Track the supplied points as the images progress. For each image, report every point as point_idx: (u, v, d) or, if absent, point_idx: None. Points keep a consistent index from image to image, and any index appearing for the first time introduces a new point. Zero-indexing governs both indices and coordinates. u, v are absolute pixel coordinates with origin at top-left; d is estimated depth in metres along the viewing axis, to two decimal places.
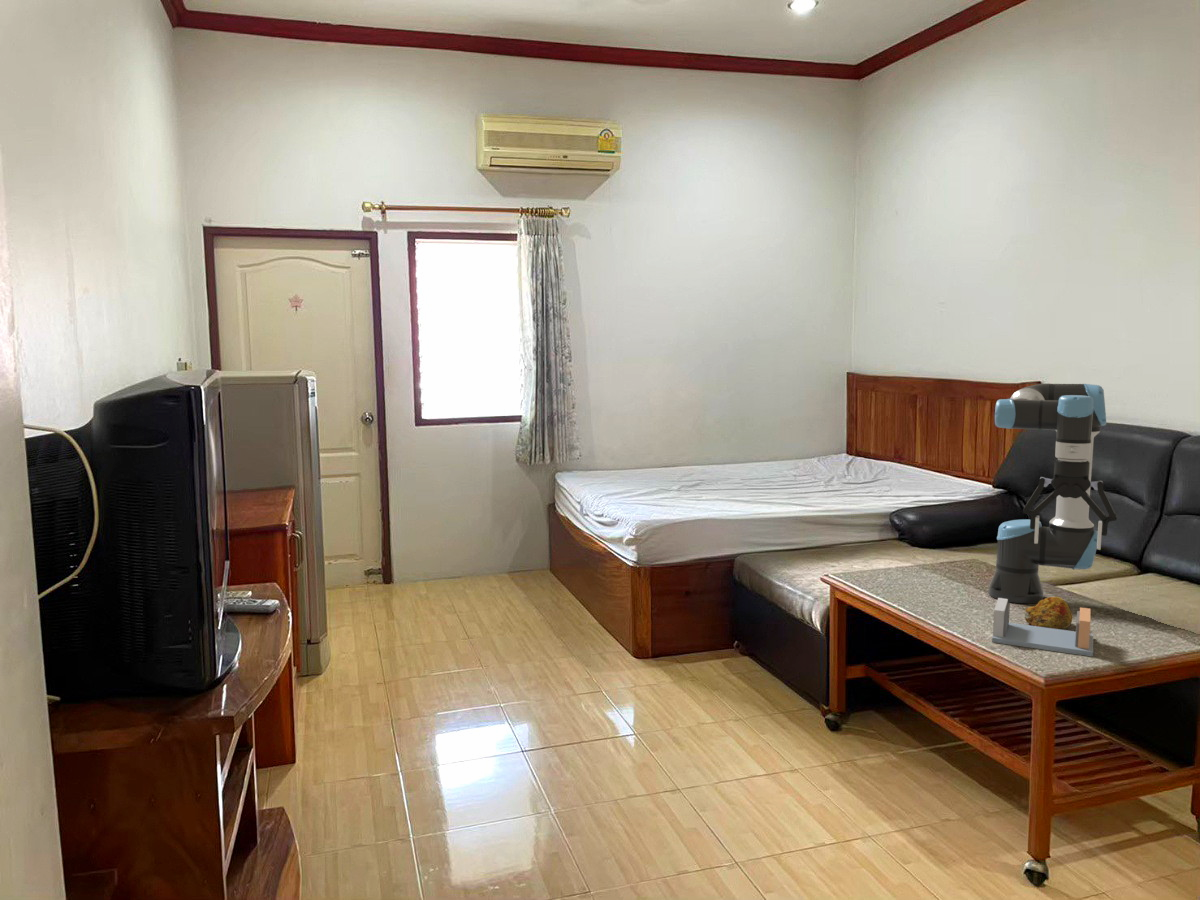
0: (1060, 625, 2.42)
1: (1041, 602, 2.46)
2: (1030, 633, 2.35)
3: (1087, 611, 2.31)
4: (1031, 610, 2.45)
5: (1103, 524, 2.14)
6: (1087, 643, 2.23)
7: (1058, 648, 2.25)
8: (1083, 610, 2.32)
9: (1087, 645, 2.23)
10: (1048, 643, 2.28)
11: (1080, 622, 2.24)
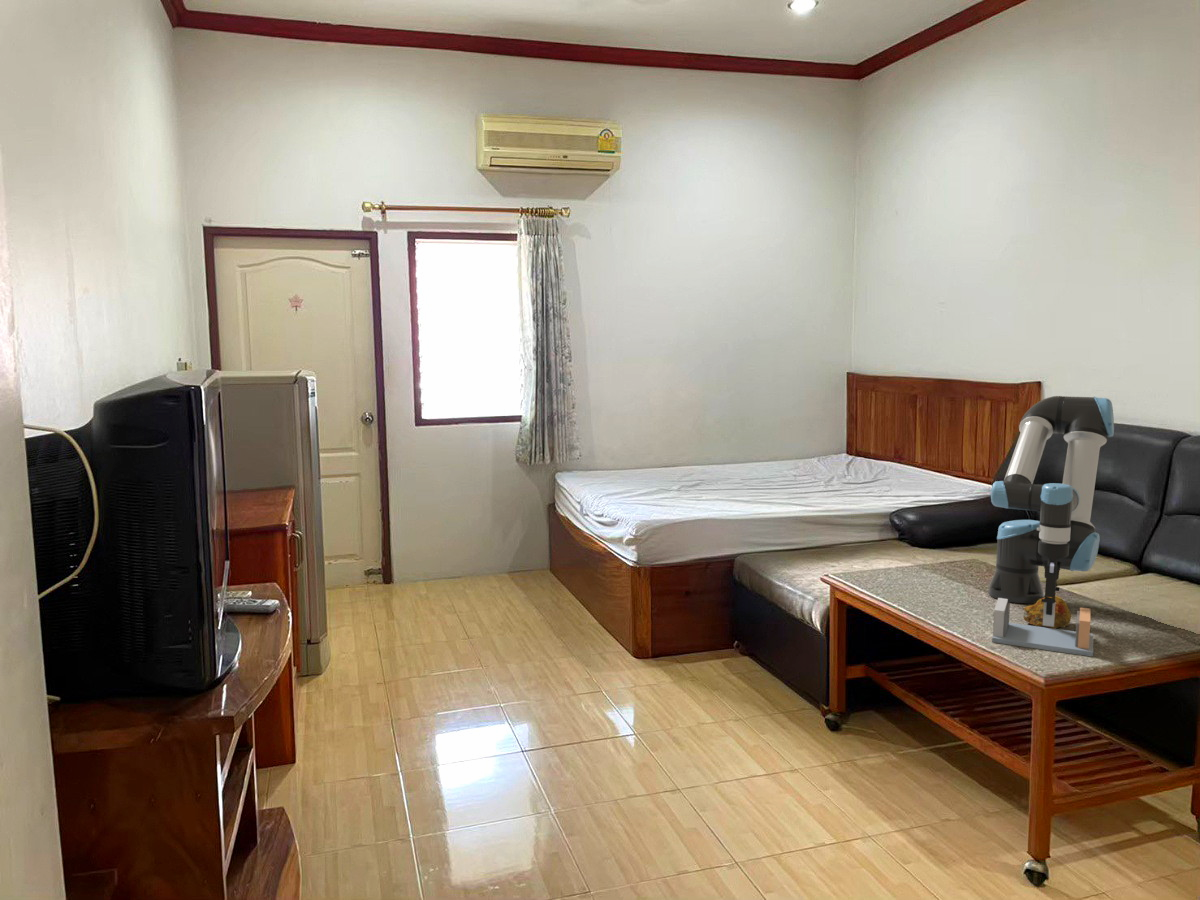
0: (1058, 624, 2.42)
1: (1040, 601, 2.46)
2: (1030, 633, 2.35)
3: (1087, 611, 2.31)
4: (1029, 608, 2.45)
5: (1046, 604, 2.39)
6: (1087, 643, 2.23)
7: (1058, 648, 2.25)
8: (1083, 610, 2.32)
9: (1087, 645, 2.23)
10: (1048, 643, 2.28)
11: (1080, 622, 2.24)
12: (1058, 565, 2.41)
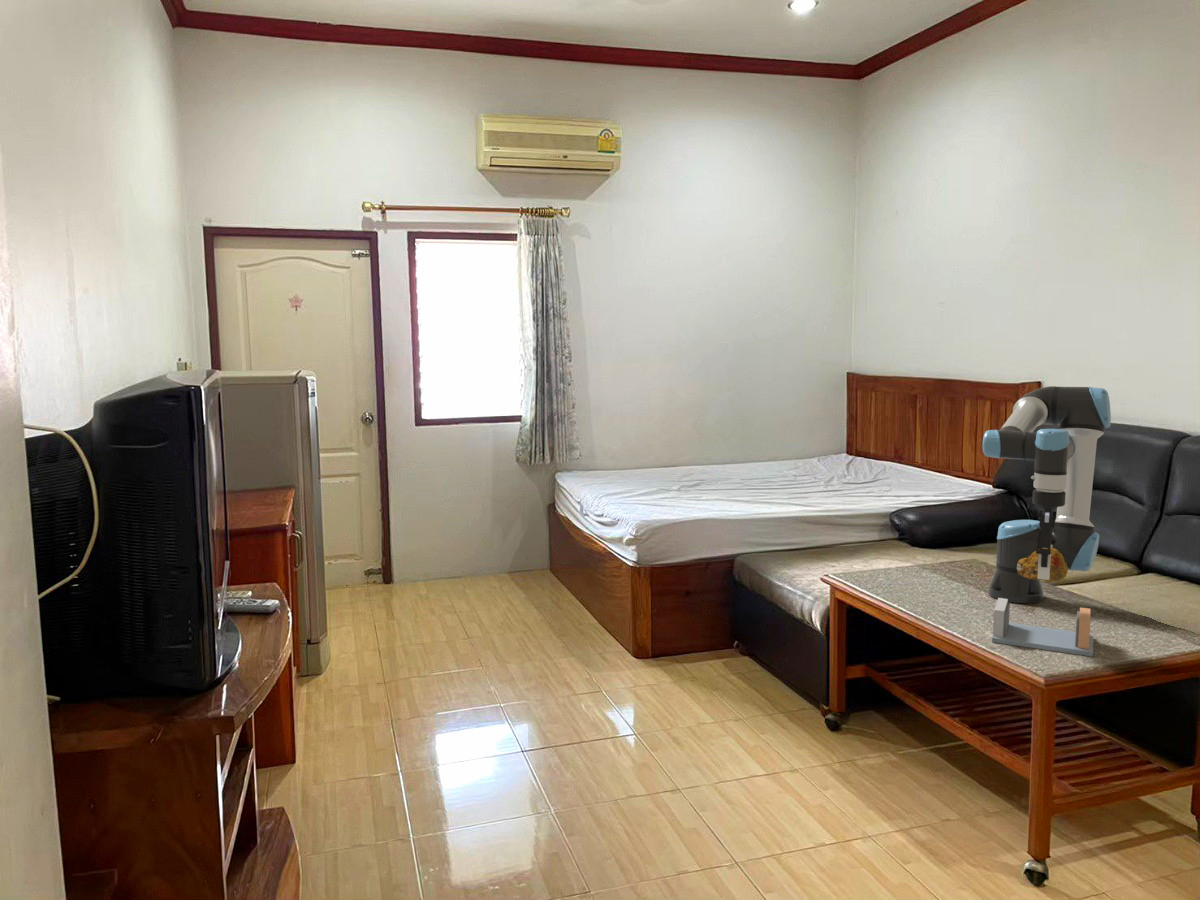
0: (1054, 577, 2.29)
1: (1034, 553, 2.33)
2: (1030, 633, 2.35)
3: (1087, 611, 2.31)
4: (1023, 561, 2.32)
5: (1041, 555, 2.26)
6: (1087, 643, 2.23)
7: (1058, 648, 2.25)
8: (1083, 610, 2.32)
9: (1087, 645, 2.23)
10: (1048, 643, 2.28)
11: (1080, 622, 2.24)
12: (1054, 515, 2.27)
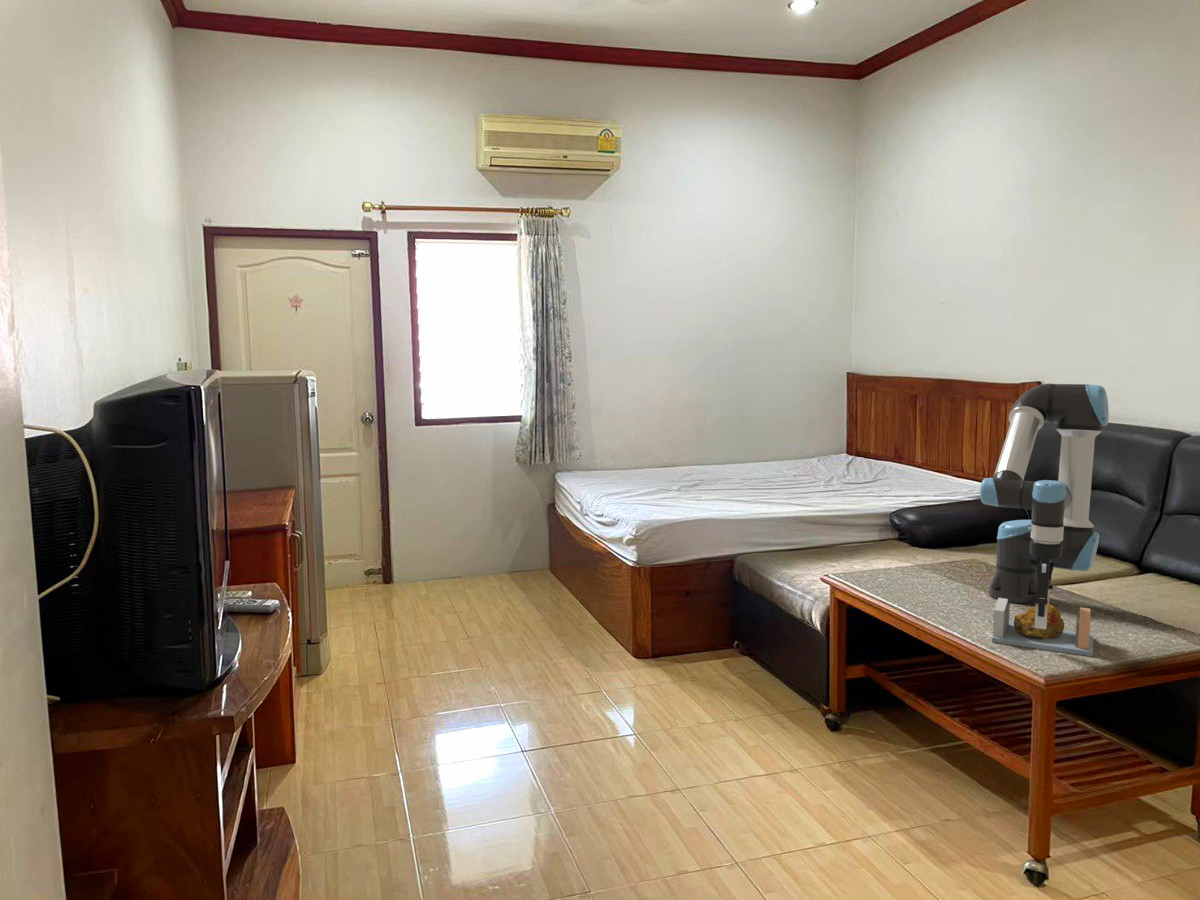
0: (1050, 634, 2.31)
1: (1031, 609, 2.35)
2: None
3: (1087, 611, 2.31)
4: (1020, 617, 2.34)
5: (1038, 605, 2.26)
6: (1087, 643, 2.23)
7: (1058, 648, 2.25)
8: (1083, 610, 2.32)
9: (1087, 645, 2.23)
10: (1048, 643, 2.28)
11: (1080, 622, 2.24)
12: (1051, 566, 2.29)
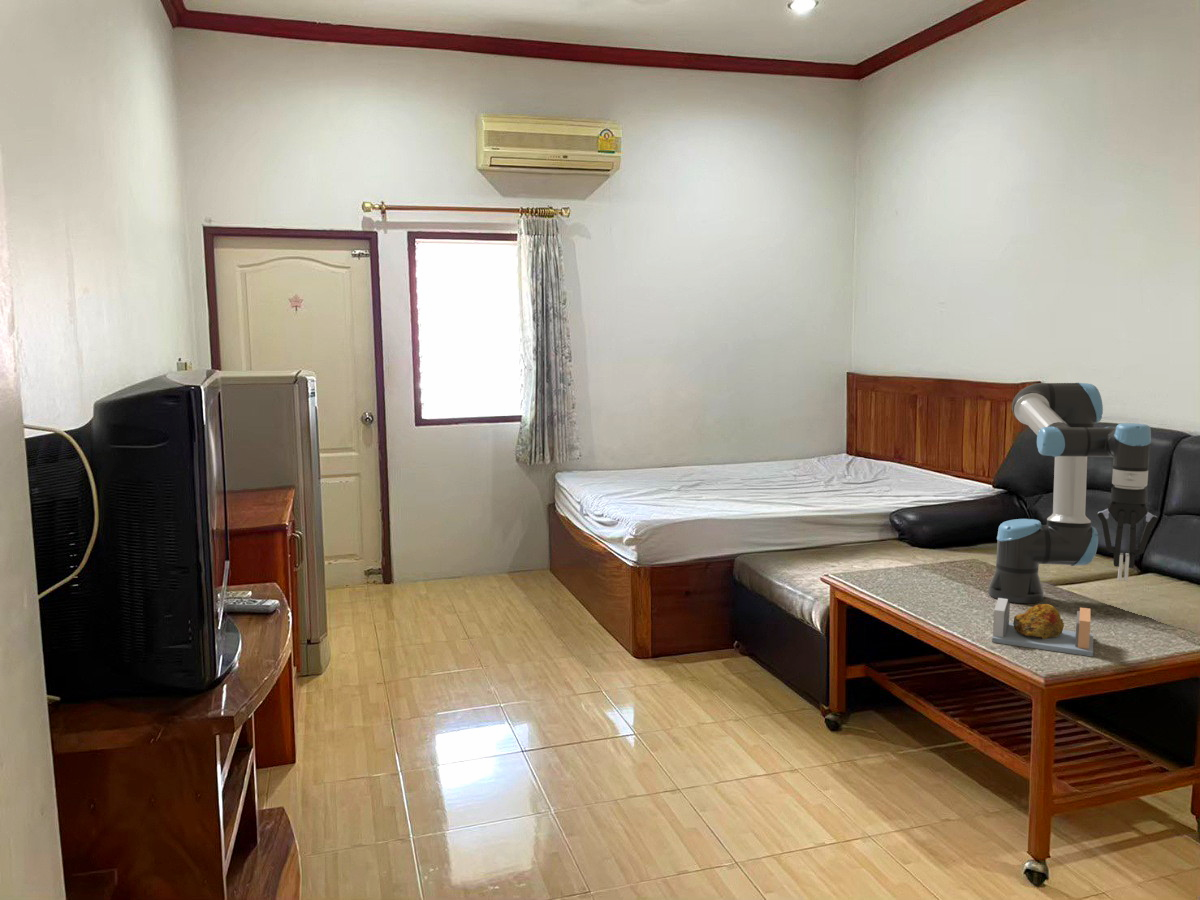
0: (1050, 634, 2.31)
1: (1031, 609, 2.35)
2: None
3: (1087, 611, 2.31)
4: (1020, 617, 2.34)
5: (1130, 557, 2.21)
6: (1087, 643, 2.23)
7: (1058, 648, 2.25)
8: (1083, 610, 2.32)
9: (1087, 645, 2.23)
10: (1048, 643, 2.28)
11: (1080, 622, 2.24)
12: None
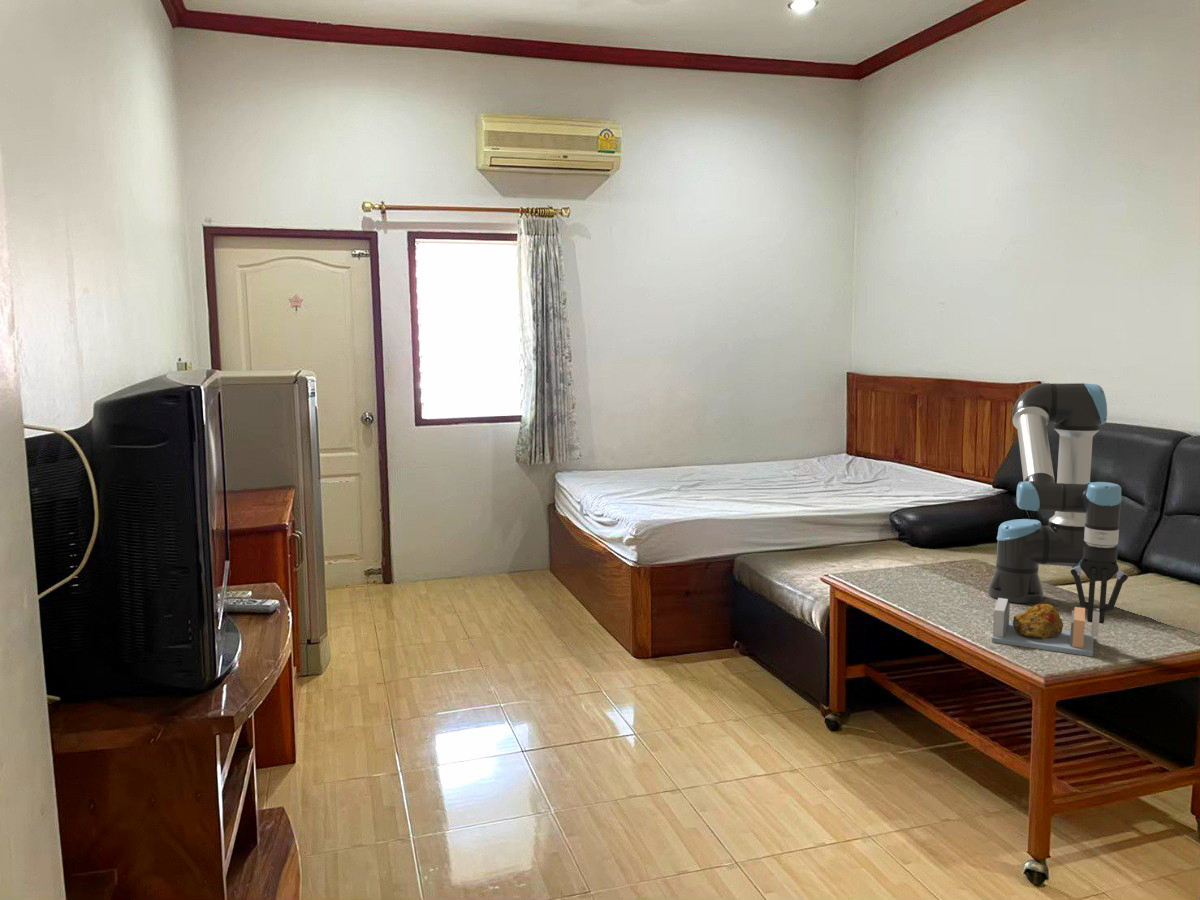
0: (1049, 634, 2.31)
1: (1030, 609, 2.35)
2: None
3: (1081, 610, 2.31)
4: (1019, 617, 2.34)
5: (1100, 613, 2.26)
6: (1081, 642, 2.24)
7: (1058, 648, 2.25)
8: (1078, 609, 2.32)
9: (1081, 644, 2.24)
10: (1048, 643, 2.28)
11: (1075, 621, 2.24)
12: None
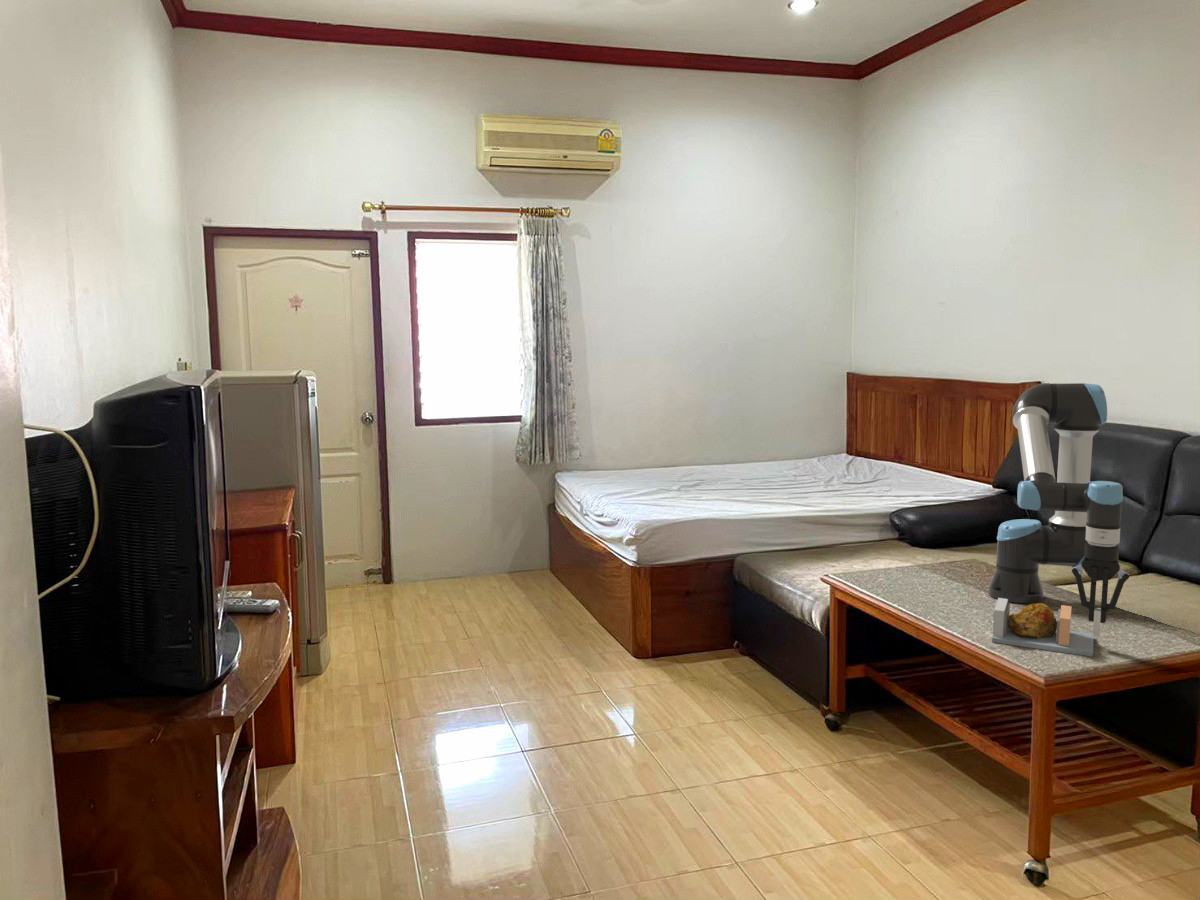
0: (1044, 633, 2.32)
1: (1025, 609, 2.35)
2: None
3: (1068, 608, 2.33)
4: (1014, 617, 2.35)
5: (1102, 612, 2.26)
6: (1067, 640, 2.25)
7: (1058, 648, 2.25)
8: (1064, 608, 2.34)
9: (1067, 642, 2.26)
10: (1048, 643, 2.28)
11: (1060, 619, 2.26)
12: None
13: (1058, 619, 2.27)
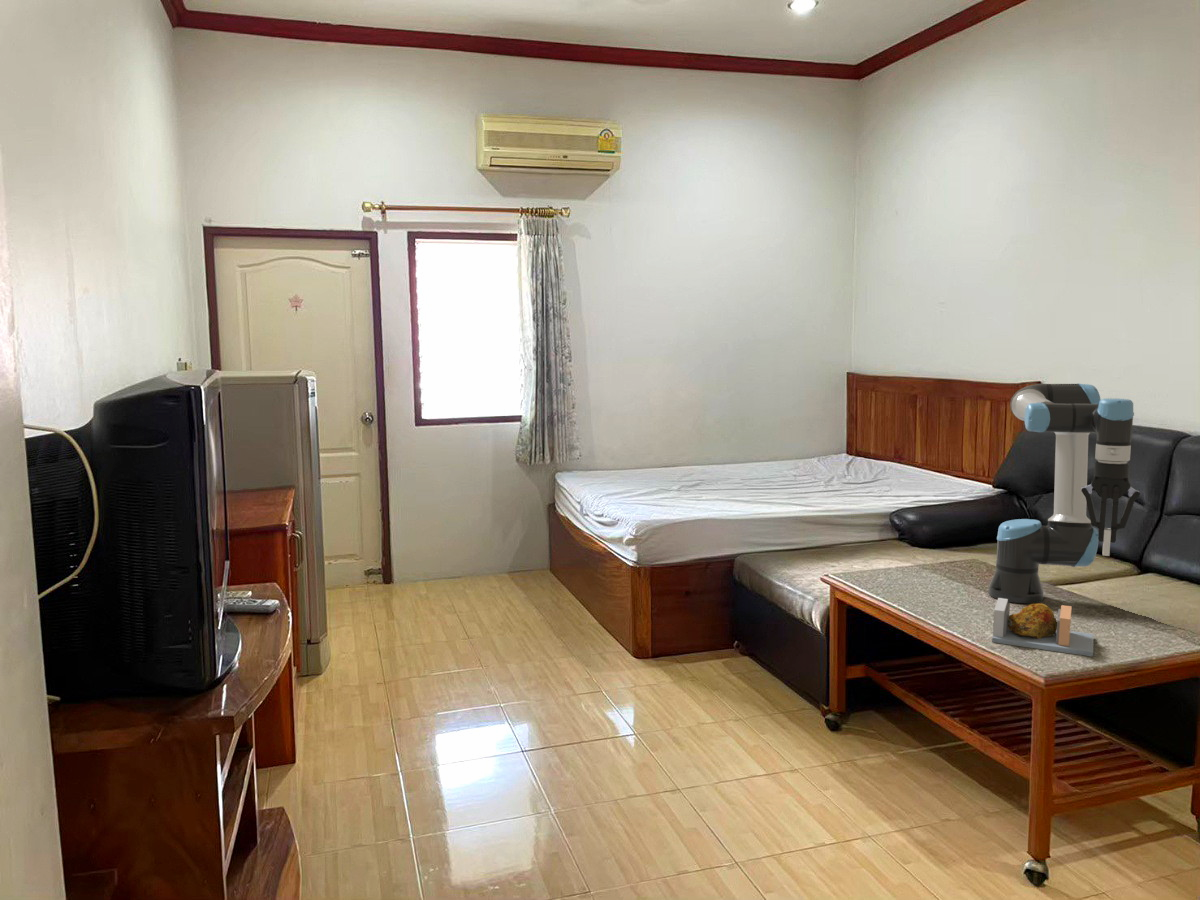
0: (1044, 633, 2.32)
1: (1025, 609, 2.35)
2: None
3: (1068, 608, 2.33)
4: (1014, 617, 2.35)
5: (1112, 531, 2.23)
6: (1067, 640, 2.25)
7: (1058, 648, 2.25)
8: (1064, 608, 2.34)
9: (1067, 642, 2.26)
10: (1048, 643, 2.28)
11: (1060, 619, 2.26)
12: None
13: (1058, 619, 2.27)
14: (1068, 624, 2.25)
